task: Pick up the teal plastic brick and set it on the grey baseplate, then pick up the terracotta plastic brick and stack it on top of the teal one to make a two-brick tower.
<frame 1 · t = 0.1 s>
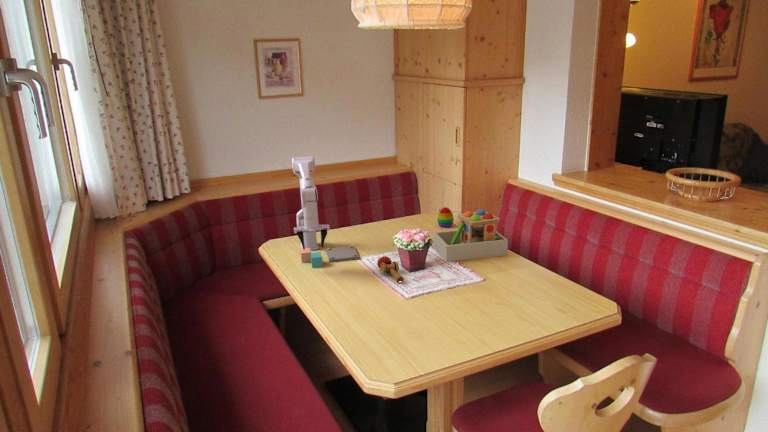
hand: (313, 247, 228), 10 cm above the table, tool pointing down, fingers open, 7 cm apart
kendama: (391, 275, 223), on the table
terracotta brick: (306, 259, 242), on the table
pounding bench toy: (469, 251, 246), resting in toy tray
baseplate: (341, 255, 246), on the table
decorative egg: (445, 226, 281), on the table
toy tray: (469, 250, 246), on the table
teal brick: (316, 264, 236), on the table
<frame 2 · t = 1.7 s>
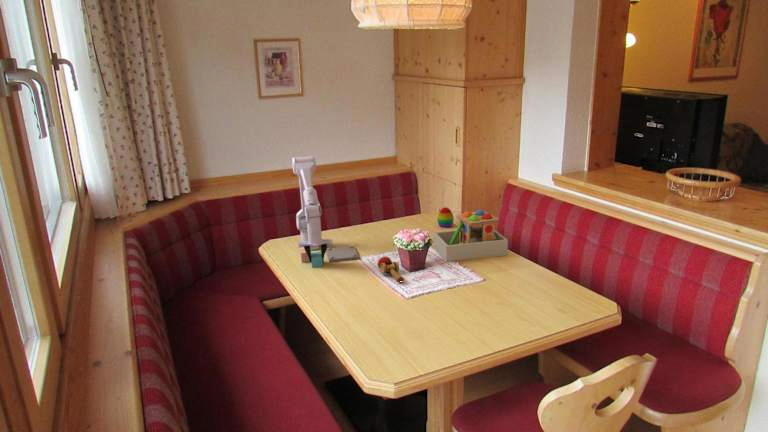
hand: (316, 261, 236), 1 cm above the table, tool pointing down, fingers closed on teal brick, 4 cm apart
teal brick: (316, 264, 236), on the table, touching gripper
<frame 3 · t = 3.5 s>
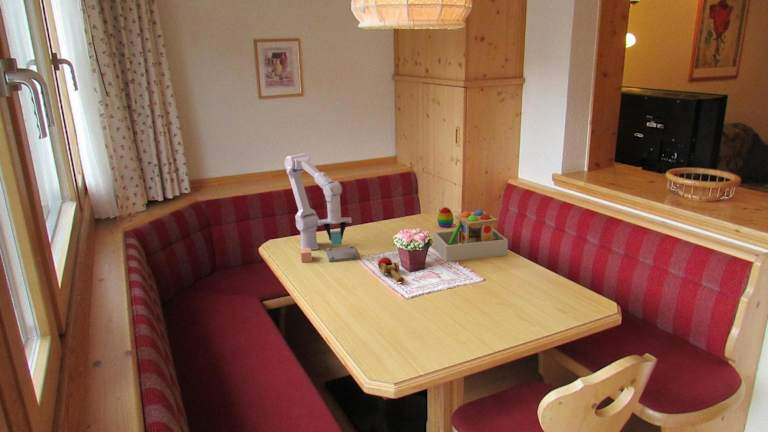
hand: (335, 239, 241), 8 cm above the table, tool pointing down, fingers closed on teal brick, 4 cm apart
teal brick: (336, 242, 242), point 7 cm above the table, touching gripper
when the fingers open (4 cm above the table, at t = 5.1 s): teal brick stays where it is, resting on baseplate.
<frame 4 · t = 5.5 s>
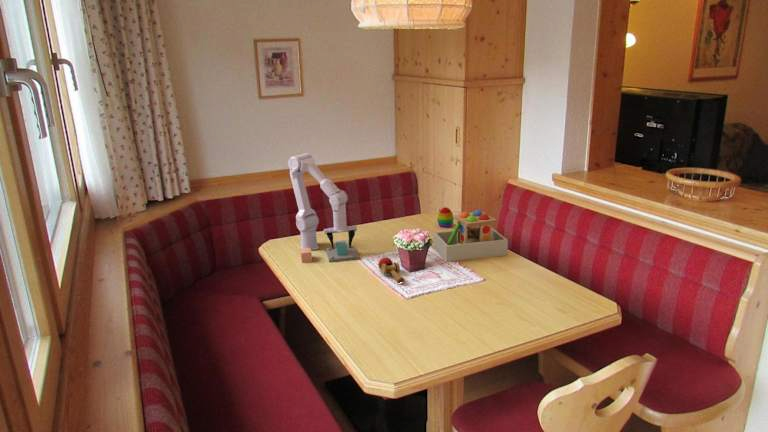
hand: (341, 247, 245), 4 cm above the table, tool pointing down, fingers open, 7 cm apart
teal brick: (341, 252, 246), point 1 cm above the table, touching baseplate
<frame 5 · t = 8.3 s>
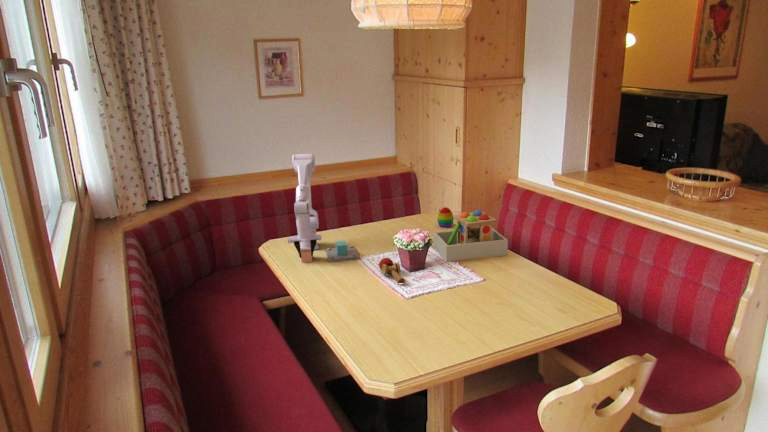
hand: (306, 256, 242), 1 cm above the table, tool pointing down, fingers closed on terracotta brick, 4 cm apart
terracotta brick: (306, 259, 242), on the table, touching gripper
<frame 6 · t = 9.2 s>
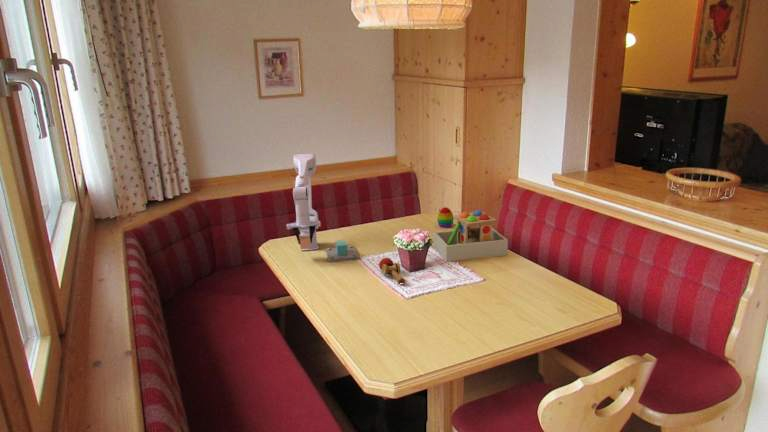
hand: (305, 243, 240), 8 cm above the table, tool pointing down, fingers closed on terracotta brick, 4 cm apart
terracotta brick: (305, 246, 240), point 6 cm above the table, touching gripper
when the fingers open (8 cm above the table, at t = 11.4 s): terracotta brick stays where it is, resting on teal brick.
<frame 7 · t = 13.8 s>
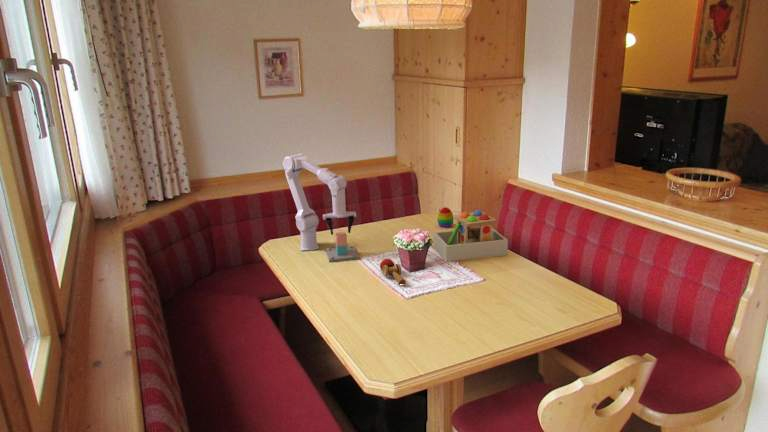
hand: (340, 233, 243), 10 cm above the table, tool pointing down, fingers open, 7 cm apart
terracotta brick: (341, 243, 244), point 6 cm above the table, touching teal brick
teal brick: (341, 252, 246), point 1 cm above the table, touching baseplate, terracotta brick
at the end: teal brick 0.1 cm off-centre on the baseplate, point 1.2 cm above the baseplate's base; terracotta brick 0.2 cm off-centre on the baseplate, point 5.7 cm above the baseplate's base; terracotta brick tilted 0° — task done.
